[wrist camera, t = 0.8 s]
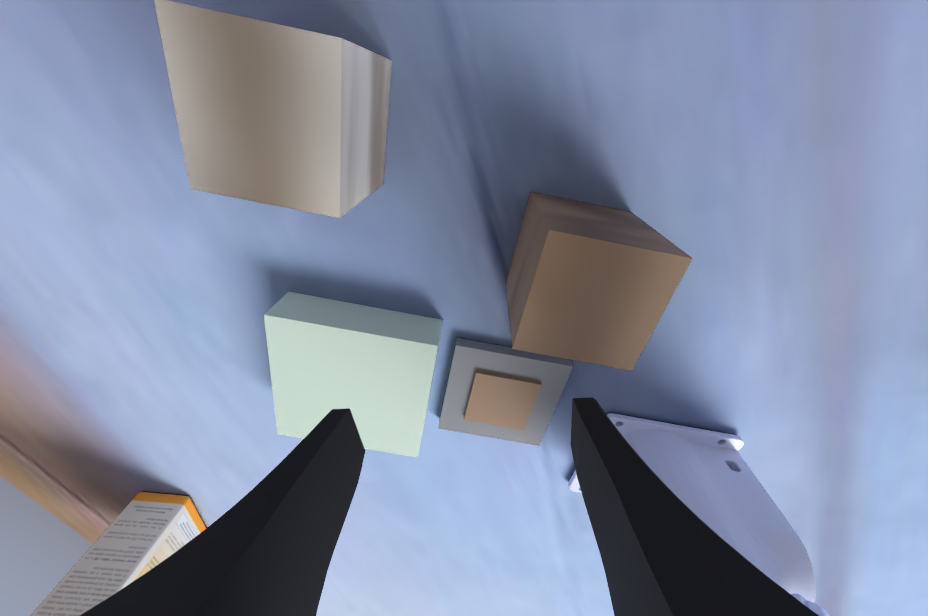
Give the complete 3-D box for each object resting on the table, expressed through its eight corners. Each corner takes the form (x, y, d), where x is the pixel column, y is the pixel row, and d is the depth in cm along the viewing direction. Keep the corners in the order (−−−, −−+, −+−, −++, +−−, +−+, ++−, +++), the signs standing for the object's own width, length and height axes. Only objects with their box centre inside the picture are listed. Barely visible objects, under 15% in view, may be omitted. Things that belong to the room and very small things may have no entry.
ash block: (392, 60, 15) (341, 37, 10) (383, 183, 17) (340, 218, 12) (271, 34, 15) (153, -3, 10) (279, 163, 17) (189, 188, 12)
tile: (570, 358, 22) (574, 370, 21) (537, 436, 25) (539, 449, 24) (456, 337, 22) (455, 348, 21) (439, 419, 25) (437, 431, 24)
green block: (443, 316, 21) (437, 346, 19) (424, 421, 26) (417, 457, 23) (291, 288, 21) (263, 314, 18) (298, 400, 25) (277, 434, 23)
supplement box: (137, 489, 31) (-63, 710, 20) (192, 494, 31) (22, 719, 20) (170, 541, 35) (19, 749, 24) (218, 545, 35) (90, 756, 24)
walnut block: (631, 211, 17) (692, 258, 12) (594, 300, 20) (631, 370, 15) (530, 191, 17) (549, 229, 12) (505, 283, 20) (512, 348, 15)
